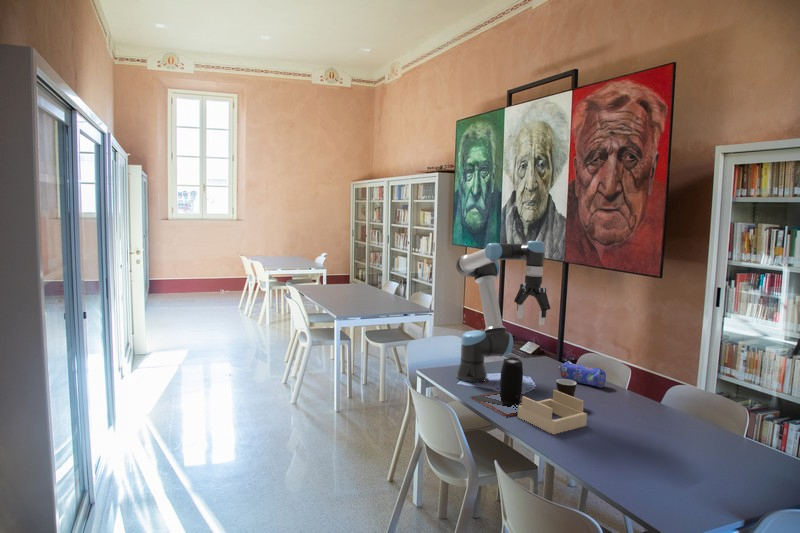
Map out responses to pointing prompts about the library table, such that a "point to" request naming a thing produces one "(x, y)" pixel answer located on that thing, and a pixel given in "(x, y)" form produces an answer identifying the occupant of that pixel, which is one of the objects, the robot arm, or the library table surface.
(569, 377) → the pencil case
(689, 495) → the library table surface
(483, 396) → the picture frame
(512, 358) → the portable speaker
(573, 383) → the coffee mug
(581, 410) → the carton
